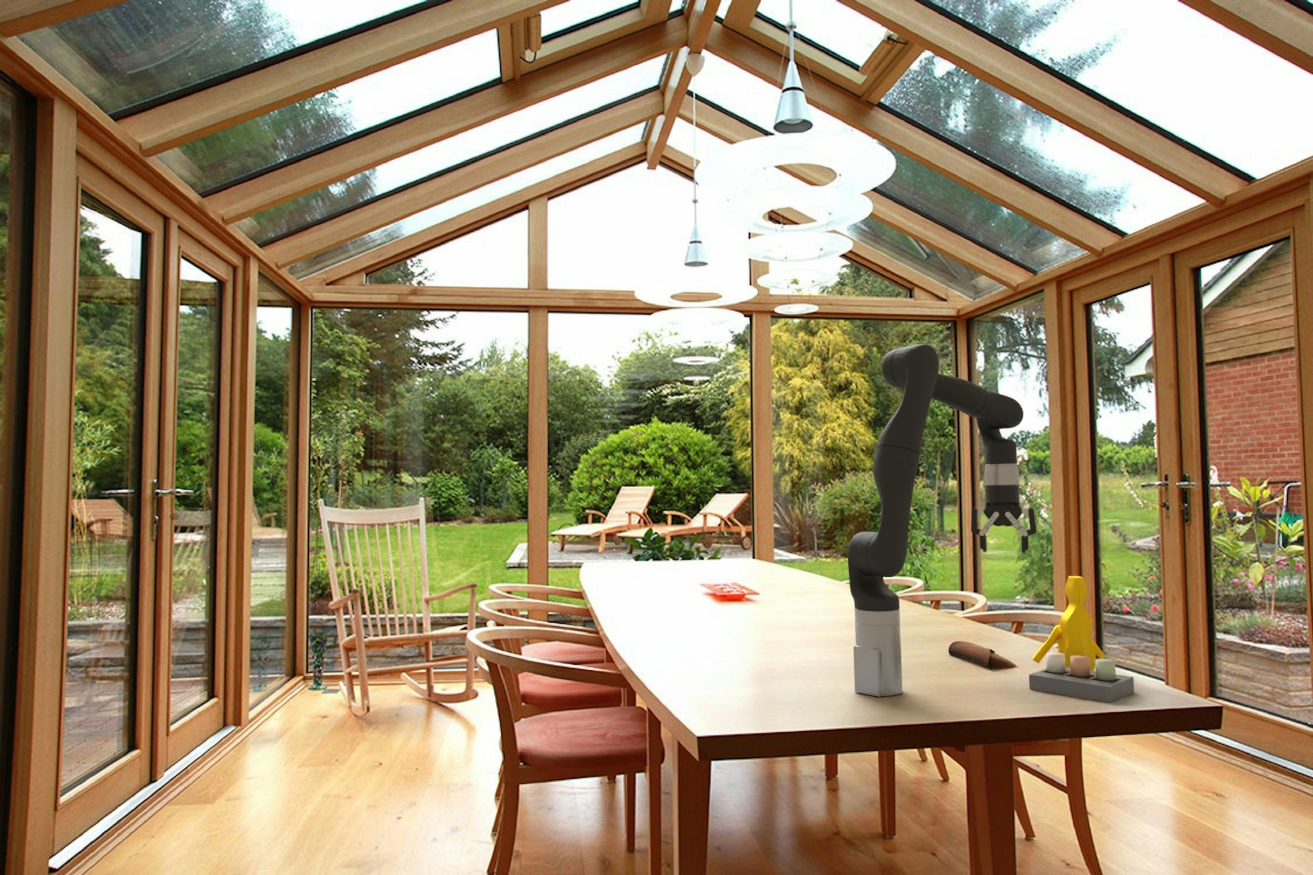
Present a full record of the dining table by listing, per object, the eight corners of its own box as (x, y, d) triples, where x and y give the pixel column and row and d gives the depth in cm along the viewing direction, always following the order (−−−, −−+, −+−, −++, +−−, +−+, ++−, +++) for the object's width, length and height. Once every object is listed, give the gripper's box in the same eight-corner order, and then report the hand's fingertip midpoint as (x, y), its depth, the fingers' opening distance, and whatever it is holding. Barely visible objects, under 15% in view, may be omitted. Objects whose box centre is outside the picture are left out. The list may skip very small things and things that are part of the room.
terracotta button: (1085, 676, 176) (1084, 659, 176) (1067, 674, 178) (1067, 657, 179) (1093, 673, 178) (1092, 656, 178) (1075, 671, 181) (1074, 654, 181)
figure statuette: (1098, 668, 198) (1094, 572, 199) (1122, 675, 190) (1117, 575, 191) (1027, 672, 195) (1023, 574, 196) (1048, 680, 187) (1043, 578, 188)
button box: (1110, 702, 168) (1109, 686, 168) (1029, 688, 180) (1028, 674, 180) (1134, 691, 176) (1133, 676, 176) (1055, 679, 188) (1054, 665, 188)
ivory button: (1060, 673, 179) (1060, 656, 180) (1043, 670, 182) (1043, 653, 182) (1068, 670, 182) (1067, 653, 182) (1051, 667, 185) (1050, 651, 185)
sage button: (1111, 680, 172) (1110, 662, 172) (1092, 677, 175) (1092, 660, 175) (1118, 677, 174) (1117, 660, 174) (1100, 675, 177) (1099, 657, 177)
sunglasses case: (1021, 666, 201) (1007, 642, 200) (999, 684, 199) (984, 660, 199) (978, 652, 218) (964, 630, 218) (956, 668, 217) (943, 646, 216)
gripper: (968, 483, 204) (970, 552, 203) (1033, 483, 198) (1036, 554, 197) (972, 483, 211) (974, 550, 210) (1035, 482, 205) (1038, 551, 204)
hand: (1004, 552), depth 204 cm, fingers open, 8 cm apart
